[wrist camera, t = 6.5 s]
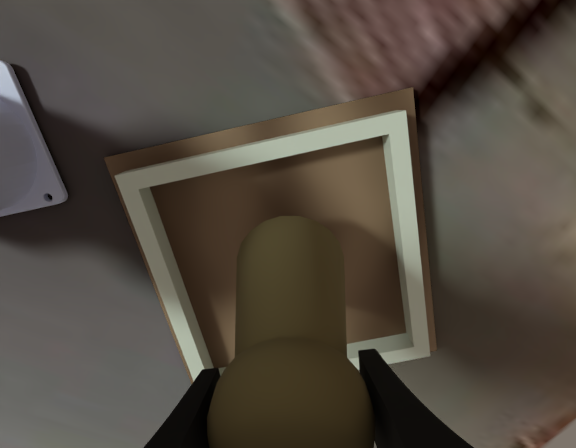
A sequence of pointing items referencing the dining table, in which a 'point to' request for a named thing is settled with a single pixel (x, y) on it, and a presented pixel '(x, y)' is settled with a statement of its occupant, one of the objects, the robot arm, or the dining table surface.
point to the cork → (290, 347)
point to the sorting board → (287, 202)
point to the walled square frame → (385, 125)
